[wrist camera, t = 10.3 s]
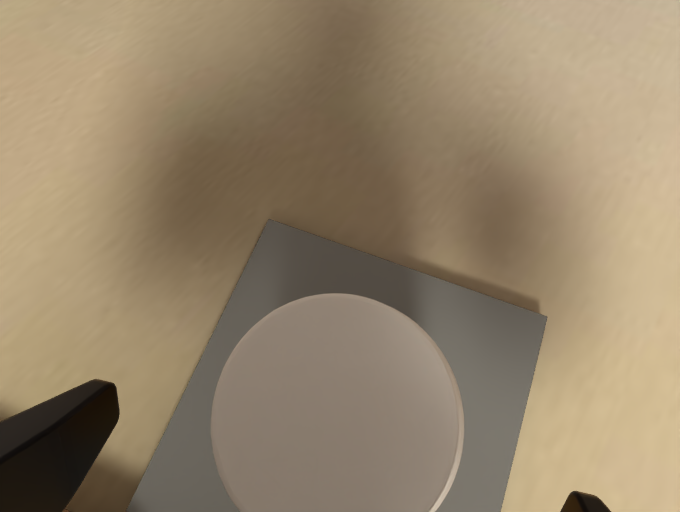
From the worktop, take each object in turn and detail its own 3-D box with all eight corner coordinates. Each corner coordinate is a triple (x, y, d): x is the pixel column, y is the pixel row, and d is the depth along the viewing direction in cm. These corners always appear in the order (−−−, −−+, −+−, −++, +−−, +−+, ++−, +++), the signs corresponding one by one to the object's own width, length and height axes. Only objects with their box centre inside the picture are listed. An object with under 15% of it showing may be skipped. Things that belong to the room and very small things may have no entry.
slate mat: (456, 669, 14) (459, 680, 13) (134, 507, 16) (125, 511, 15) (541, 319, 17) (547, 316, 17) (271, 224, 19) (268, 218, 19)
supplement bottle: (285, 511, 15) (170, 663, 6) (266, 354, 17) (155, 284, 8) (438, 480, 15) (560, 580, 6) (402, 328, 17) (453, 228, 8)
